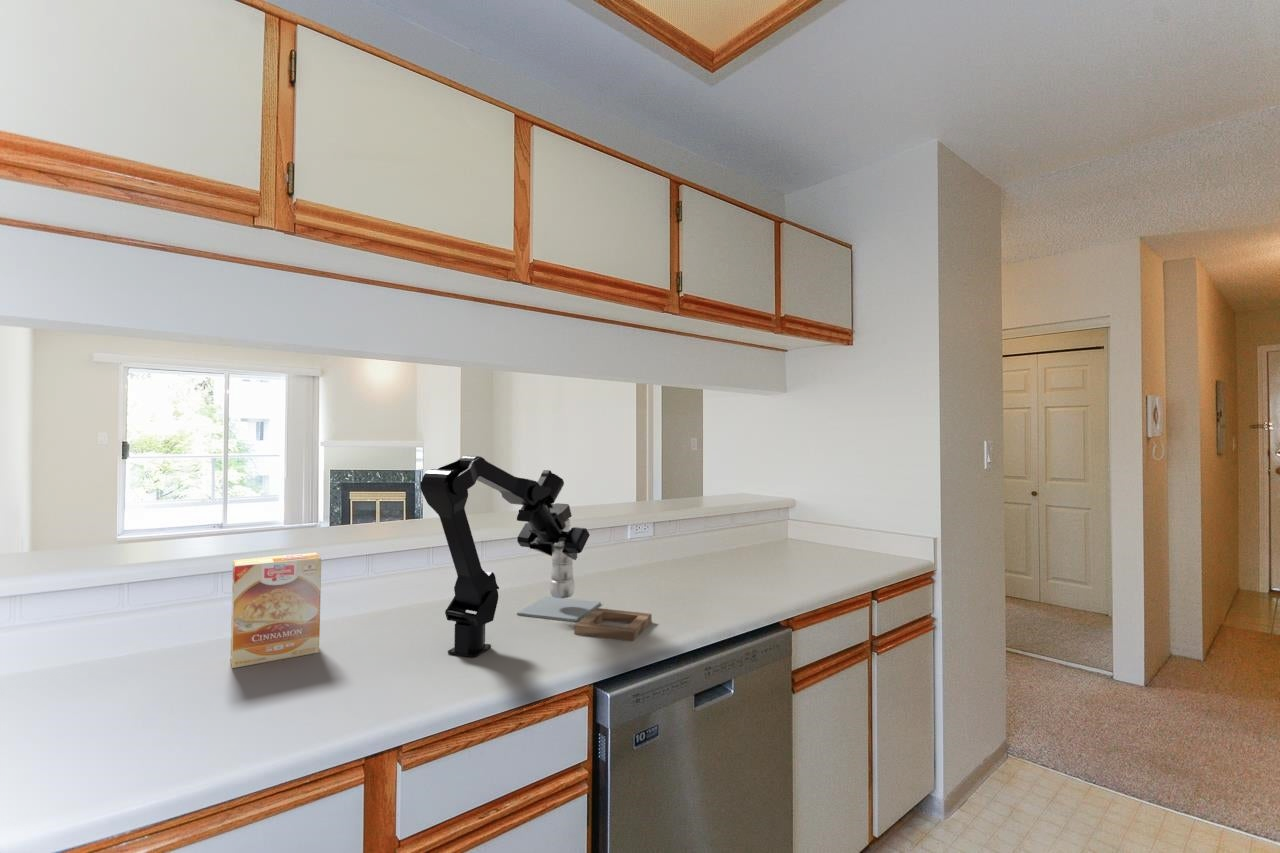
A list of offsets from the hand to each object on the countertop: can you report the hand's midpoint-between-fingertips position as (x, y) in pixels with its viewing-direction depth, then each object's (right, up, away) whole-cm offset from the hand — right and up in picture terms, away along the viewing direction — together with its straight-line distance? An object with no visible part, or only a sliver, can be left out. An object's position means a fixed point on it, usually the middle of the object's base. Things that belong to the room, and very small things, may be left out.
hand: (565, 557), depth 156 cm
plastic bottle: (-1, -10, -1) cm, 10 cm away
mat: (-1, -13, -1) cm, 13 cm away
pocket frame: (+13, -13, -15) cm, 24 cm away
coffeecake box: (-54, -12, -35) cm, 65 cm away
